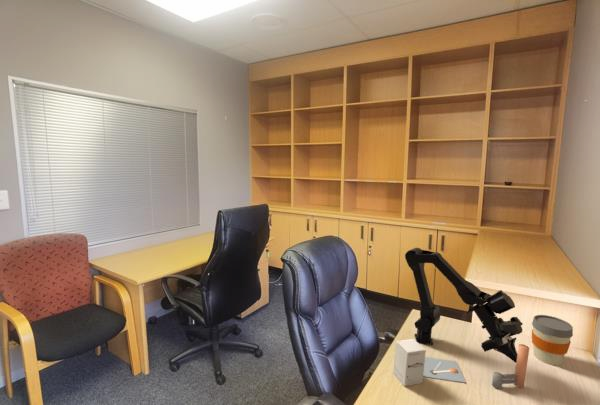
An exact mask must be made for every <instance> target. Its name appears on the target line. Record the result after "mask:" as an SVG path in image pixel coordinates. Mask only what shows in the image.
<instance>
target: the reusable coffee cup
mask: <svg viewBox="0 0 600 405" xmlns="http://www.w3.org/2000/svg"><path fill="white" fill-rule="evenodd" d="M531 325H532V329H531V343H532V345H533V346H532V348H533V349H532V350H533V356H534V357H535V358H536V359H537V360H538V361H541V362H542V363H544V364H547V365H551V366H561V365H562V363H563V360H564V359H565V355H566V354H568V351H569V349H570V345H571V341H572V340H571V338H572V337H573V336H574V335H573V334H574V327H573V325H571V323H569V322H568V321H565V320H564V319H561V318H558V317H555V316H552V315H545V314H537V315H534V316H533V319H532V321H531Z"/></svg>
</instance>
